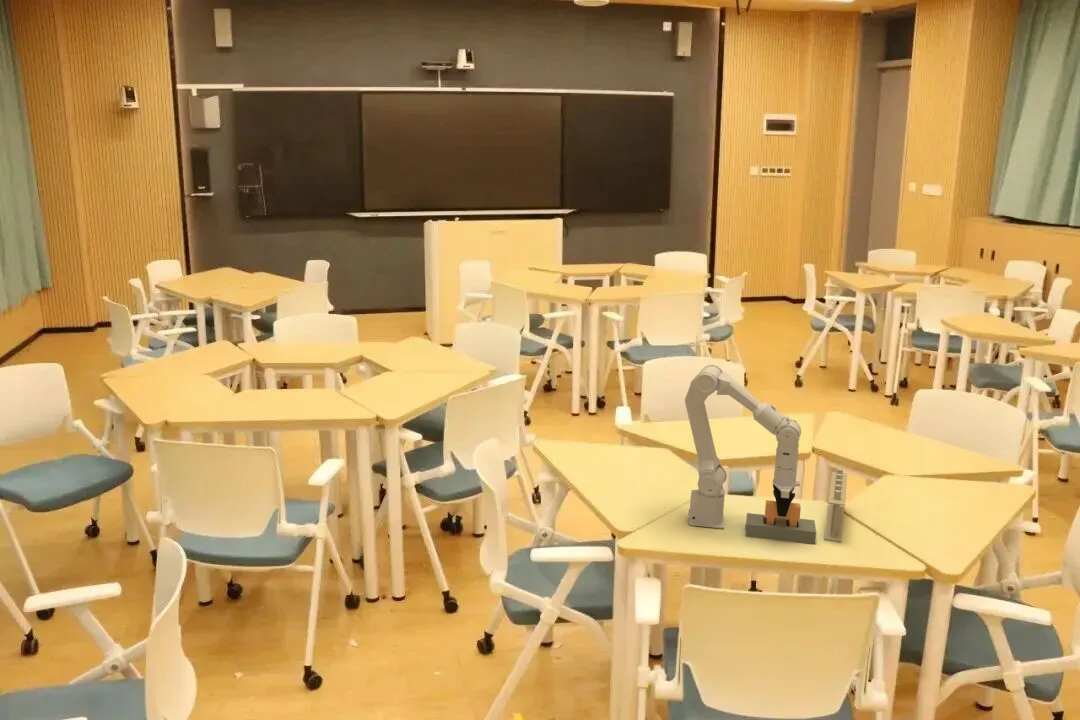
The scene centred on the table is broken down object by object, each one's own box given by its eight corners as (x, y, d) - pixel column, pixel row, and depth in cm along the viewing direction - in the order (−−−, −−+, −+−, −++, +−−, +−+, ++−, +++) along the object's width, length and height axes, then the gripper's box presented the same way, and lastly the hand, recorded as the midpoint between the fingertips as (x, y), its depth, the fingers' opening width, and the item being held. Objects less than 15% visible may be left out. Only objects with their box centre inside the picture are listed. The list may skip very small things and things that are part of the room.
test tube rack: (841, 543, 243) (846, 497, 240) (823, 540, 245) (828, 494, 242) (843, 509, 266) (848, 466, 263) (828, 506, 268) (832, 464, 265)
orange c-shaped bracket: (764, 526, 247) (766, 504, 245) (763, 522, 250) (765, 500, 248) (798, 530, 245) (800, 507, 243) (797, 525, 248) (800, 503, 246)
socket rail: (745, 536, 246) (746, 524, 245) (745, 524, 253) (746, 512, 253) (815, 544, 242) (816, 532, 241) (813, 532, 250) (814, 520, 249)
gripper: (803, 476, 235) (798, 525, 239) (800, 458, 249) (795, 504, 252) (774, 474, 237) (770, 522, 240) (773, 455, 251) (769, 502, 254)
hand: (781, 513), depth 246 cm, fingers closed on orange c-shaped bracket, 3 cm apart
